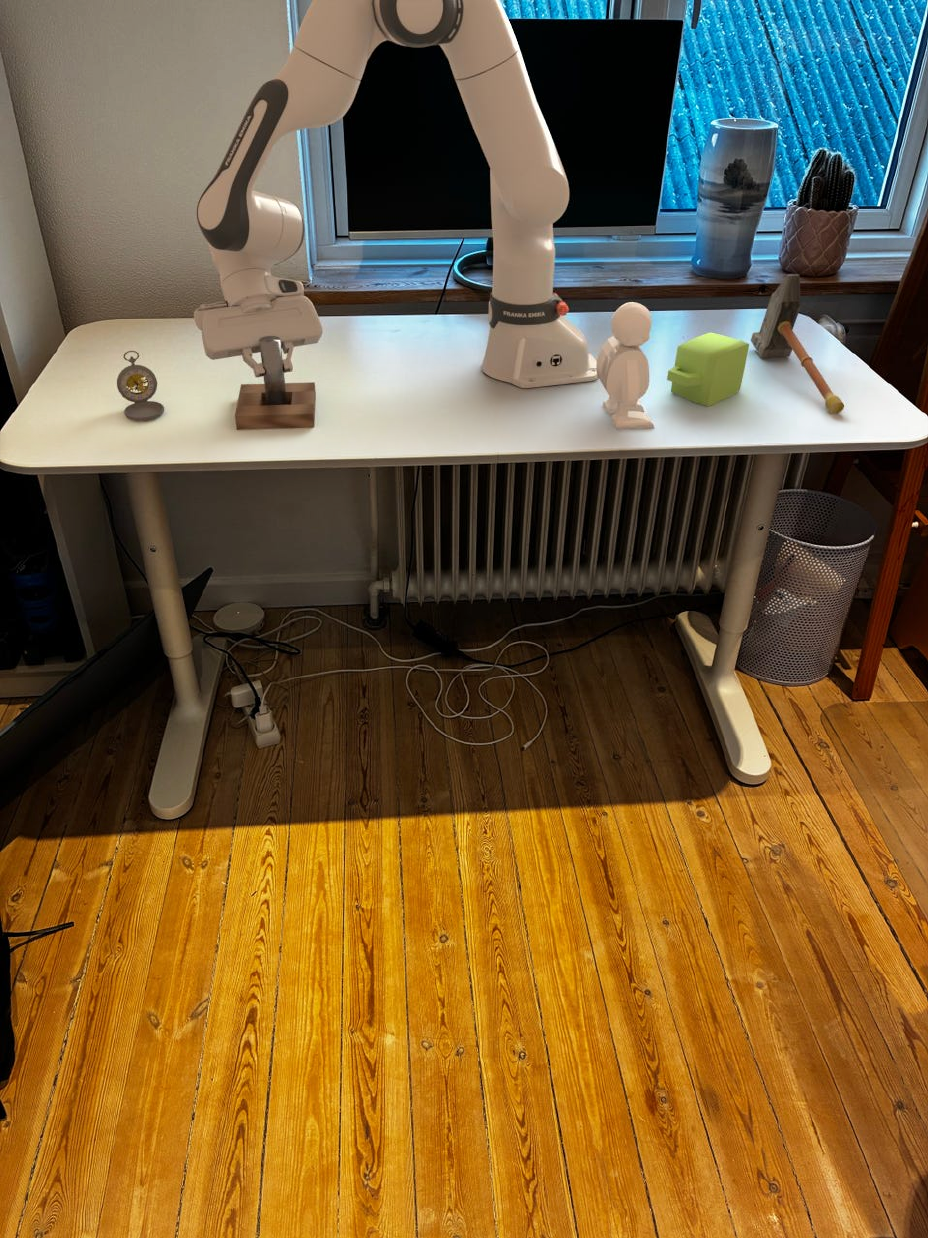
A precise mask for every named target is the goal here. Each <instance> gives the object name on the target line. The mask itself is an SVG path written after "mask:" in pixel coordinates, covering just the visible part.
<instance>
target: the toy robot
mask: <svg viewBox="0 0 928 1238" xmlns="http://www.w3.org/2000/svg"><path fill="white" fill-rule="evenodd" d="M652 321H653V320H652V314H651V313H650V310H649V309H648V308H647V307H646V306H645V305H642V304H641V303H638V302H633V301H631V302H630V301H629V302H626V303H624V304H622V305H621V306H619V307H618V308H617V309H616V311H615V312H614V313H613V315H612V317H611V321H610V322H611V323H610V326H611V327H610V328H611V334H612V336H610V337H609V338H607V339H606V340H605V342H604V343H603V345H601V348H600V351H598V354H597V355H598V356H597V359H596V361H597V365H596V370H597V375H598V379H599V381H600V383H601V384H602V386H603V387H604V389H605V391H606V393H607V395H608V399H607V400H604V401H603V402H602V407H603V408H604V410H605V412H606V413H607V414H613V415H612V416H611V422H612V423H613V426H614V428H615V429H616V430H617V429H618V430H619V429H620V430H621V429H623V430H624V429H625V430H626V429H655V425H654V422H653V420H652V419H651V418H650V416H649V414H648V413H646V412H645V410H644V407H643V405H642V403H641V402H640V401H639V400H640V399H641V398H642V397H643V396H645V395H646V393H647V391H648V389H649V386H650V365H649V362H648V358H647V356H646V355H645V353H644V351H643V350H642V349H641V348H640V347H641V346H643V345H644V344H646V343H647V342H648V341H649V340H650V338H651V333H650V332H651V330H652V323H653V322H652Z"/></svg>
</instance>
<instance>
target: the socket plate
mask: <svg viewBox="0 0 928 1238" xmlns="http://www.w3.org/2000/svg"><path fill="white" fill-rule="evenodd" d="M285 387H286V397H287V405H267V402H266V394H265V385H264V383H243V384H242V383H241V384H240V388H239V393H238V396H237V397H238V398H237V403H236V408H235V413H234V421H235V425H236V428H235V429H236V430H237V431H238V430H239V431H240V430H267V429H270V430H271V429H273V430H275V429H298V428H299V429H303V428H304V429H305V428H315V423H316V422H315V419H316V399H317V397H316V396H317V395H316V393H317V392H316V383H315V382H314V381H313V382H312V381H311V382H285Z"/></svg>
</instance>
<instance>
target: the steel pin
mask: <svg viewBox="0 0 928 1238" xmlns="http://www.w3.org/2000/svg"><path fill="white" fill-rule="evenodd" d="M259 344H260V352H259V353H260V360H261V363H262V364H263V368H264V370H265V374H264V376H262V377H263V382H264V383H263V384H264V385H265V394H266V402H267V405H287V397H286V387H285V383H286V380H285V373H284V369H283V349H281V340H280V338H279V337H277V336H265V337H262V338H260V339H259Z"/></svg>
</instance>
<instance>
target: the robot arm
mask: <svg viewBox="0 0 928 1238" xmlns="http://www.w3.org/2000/svg"><path fill="white" fill-rule="evenodd" d="M386 41H389V42H392V43H394V44H396V45H400V46H401V47H402V46H403V47H409V48H426V47H431V46H440V48H441V50H442V51H443V53H444V55H445V57H446V58H447V60H448V62H449V65H450V69H451V71H452V75H453V78H454V81H455V83H456V85H457V88H458V90H459V93H460V96H461V99H462V102H463V104H464V107H465V110H466V112H467V116H468V118H469V121H470V124H471V126H472V129H473V130H474V134H475V136H476V137H477V139H478V142H479V144H480V147H481V150H482V152H483V154H484V157H485V158H486V161H487V163H488V166H489V168H490V170H489V172H490V173H489V174H490V175H489V177H490V178H489V179H490V206H491V207H490V208H491V209H490V210H491V228H492V230H491V231H492V242H493V243H492V244H493V257H492V258H493V259H492V260H493V261H492V263H493V264H492V292H490V294H489V301H488V324H489V333H488V337H487V339H488V340H487V342H486V343H487V344H486V349H485V353H484V356H483V359H482V363H481V365H480V367H481V370H482V372H483V373H485V374H486V375H487V376H488V377H491V378H492V379H495V380H498V381H502V382H506V383H509V384H512V385H514V386H517V387H519V388H522V389H531V388H532V389H533V388H539V387H548V386H556V385H557V386H558V385H566V384H574V383H585V382H592V381H595V380H597V379H599V377H598V375H597V370H596V365H597V359H596V358H595V357H594V356H593V354H591V353H589V347H588V341H587V338H586V336H585V335H584V333H583V332H582V331H581V330H580V329H579V328H578V327H577V326H575V324H574V323H572V322H571V321H570V320H568V319H567V318H566V317H565V316H566V315H567V314H569V311H570V309H569V306H568V304H567V303H566V302H565V301H563V299H562V298H561V297H560V296H559V295H558V294H557V293H556V292H553V290H554V277H555V275H554V274H555V262H556V261H555V260H556V247H555V240H554V230H553V229H554V227H553V226H554V225H553V224H554V223H556V222H557V221H558V220H559V219H560V218H561V217H562V216H563V214H564V213H565V212H566V210H567V207H568V204H569V201H570V187H569V181H568V178H567V175H566V172H565V169H564V166H563V164H562V161H561V158H560V156H559V154H558V150H557V148H556V145H555V143H554V140H553V138H552V135H551V133H550V130H549V127H548V125H547V123H546V120H545V118H544V115H543V113H542V111H541V108H540V106H539V103H538V101H537V98H536V95H535V93H534V90H533V87H532V86H533V85H532V83H531V81H530V77H529V75H528V71H527V68H526V65H525V62H524V58H523V55H522V52H521V49H520V46H519V44H518V41H517V38H516V35H515V33H514V30H513V28H512V25H511V23H510V21H509V18H508V16H507V14H506V12H505V10H504V8H503V5H502V4H501V2H500V0H312V1H311V3H310V4H309V6H308V9H307V11H306V13H305V14H304V17H303V19H302V22H301V24H300V26H299V29H298V32H297V34H296V36H295V40H294V42H293V46H292V47H291V50H290V53H289V55H288V57H287V59H286V61H285V62H284V65H283V66H282V68H281V69H280V70H279V72H278V73H276V75H275V77H273V79H271V80H268V81H266V82H264V83H263V84H262V85H261V86H260V88H259V89H258V90H257V92H256V93H255V95H254V97H253V98H252V100H251V102H250V104H249V106H248V108H247V109H246V112H245V114H244V116H243V118H242V121H241V122H240V124H239V126H238V128H237V130H236V132H235V134H234V136H233V138H232V141H231V143H230V144H229V146H228V149H227V152H226V153H225V155H224V157H223V160H222V162H221V164H220V165H219V168H218V169H217V171H216V173H215V175H214V176H213V178H212V180H210V182H209V183H208V185H207V186H206V188H205V189H204V190H203V192H202V194H201V196H200V197H199V200H198V203H197V206H196V219H197V224H198V227H199V228H200V231H201V233H202V235H203V237H204V239H205V240H206V241H207V243H208V249H209V252H210V255H211V259H212V263H213V265H214V267H215V269H216V270H217V272H218V273H219V278H220V279H219V280H220V288H221V292H222V295H223V298H224V300H223V301H217V302H214V303H203V304H200V305H199V307H197V308H196V309H195V310H194V312H193V319H194V322H195V325H196V328H197V329H199V330H200V331H201V337H202V339H201V340H202V345H203V349H204V354H205V356H206V357H207V358H209V359H210V360H213V361H214V360H215V361H216V360H222V359H226V358H227V359H228V358H232V357H234V358H235V357H239V356H241V357H242V361H243V362H244V363H245V364H246V365H248V367H250V368H251V370H253V374H254V376H255V378H262V377H263V376H264V374H265V370H264V368H263V364H262V362H259V363H258V362H257V361H256V360H255V359H254V358H253V354H259V353H261V352H260V344H259V339H260V338H262V337H265V336H277V337H279V338H280V340H281V350H282V353H283V354H285V355H286V358H285V359H283V358H282V359H283V369H284V374H285V373H290V372H293V370H294V369H293V367H294V366H293V363H292V355H293V352H294V348H295V347H302V346H309V345H315V344H317V343H318V342H319V341H320V340H321V337H322V335H323V331H324V329H323V326H322V322H321V320H320V317H319V314H318V313H317V310H316V308H315V305H314V304H313V302H312V301H311V300H310V299H309V298H308V297H307V296H305V295H304V293H305V288H304V285H303V283H302V282H301V281H299V280H296V279H288V278H282V277H277V276H273V275H272V273H271V267H272V266H276V265H279V264H281V263H283V262H285V261H287V260H288V259H290V258H291V257H293V256H294V255H295V254H297V252H298V251H299V250H300V249H301V247H302V245H303V243H304V239H305V229H306V228H305V222H304V218H303V215H302V212H301V211H300V209H299V207H298V206H297V205H296V204H295V203H294V202H292V201H289V200H287V199H285V198H281V197H279V196H275V195H272V194H267V193H263V192H260V191H258V190H254V187H255V185H256V183H257V181H258V179H259V177H260V175H261V173H262V171H263V169H264V167H265V165H266V163H267V160H268V159H269V157H270V154H271V153H272V151H273V149H274V148H275V145H276V144H277V143H278V142H279V141H280V140H281V139H282V138H283V137H285V136H287V135H288V134H291V133H294V132H297V131H300V130H306V129H316V128H322V127H326V126H330V125H332V124H334V123H336V122H338V121H339V120H341V119H342V118H343V117H345V115H346V113H347V112H348V111H349V109H350V108H351V106H352V104H353V102H354V101H355V100H354V99H355V97H356V94H357V92H358V89H359V86H360V84H361V80H362V78H363V75H364V73H365V69H366V66H367V64H368V63H367V62H368V61H369V59H370V57H371V55H372V53H373V52H374V51H375V49H376V48H377V47H378V46H379V45H380V44H381V43H383V42H386Z"/></svg>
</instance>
